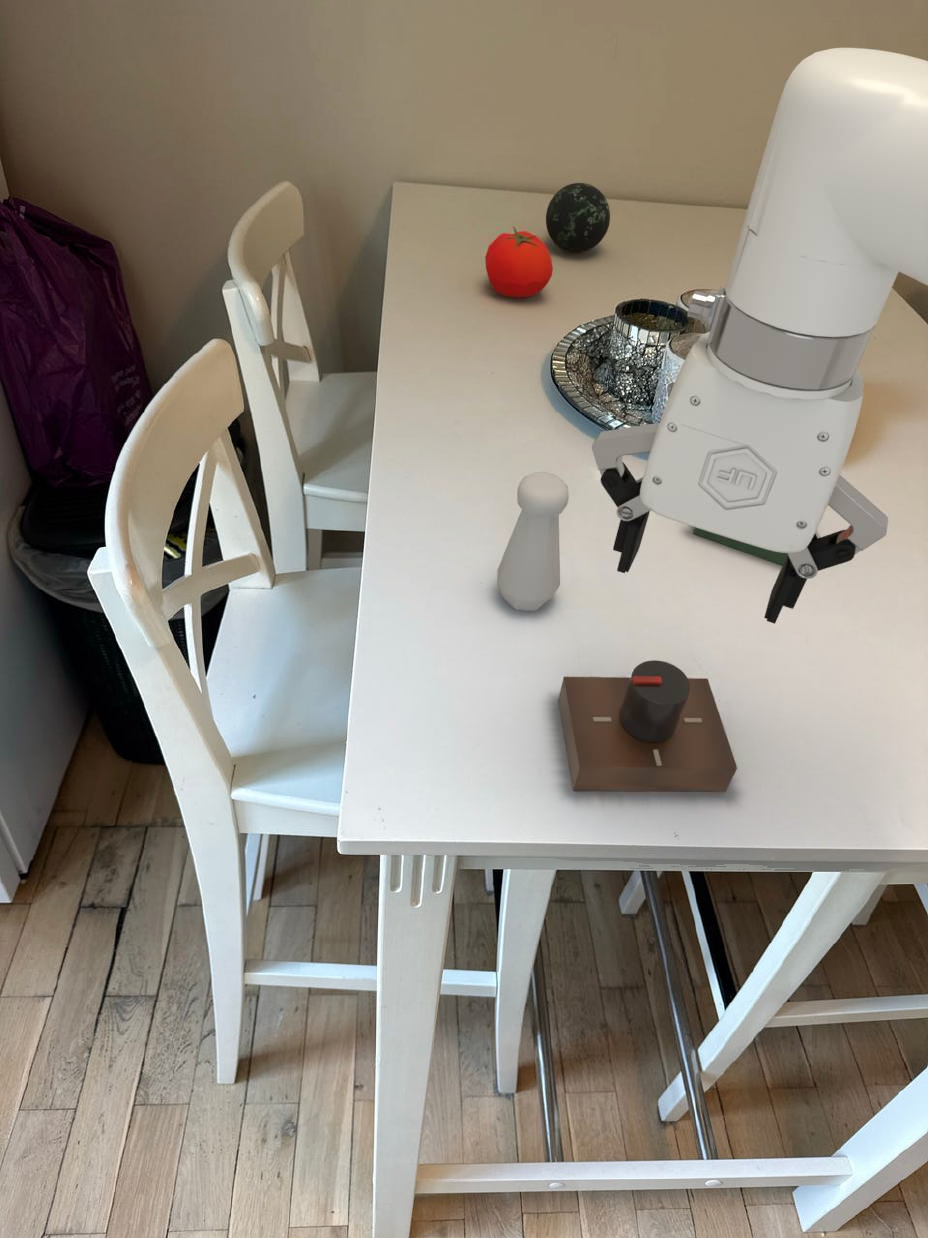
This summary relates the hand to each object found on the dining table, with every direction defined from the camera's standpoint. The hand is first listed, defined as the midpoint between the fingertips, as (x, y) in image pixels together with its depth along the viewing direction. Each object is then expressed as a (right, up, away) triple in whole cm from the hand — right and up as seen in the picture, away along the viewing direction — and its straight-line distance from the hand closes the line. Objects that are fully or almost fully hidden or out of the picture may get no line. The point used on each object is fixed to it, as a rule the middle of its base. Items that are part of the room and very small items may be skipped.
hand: (698, 584), depth 57 cm
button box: (+15, +7, +35) cm, 38 cm away
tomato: (-8, +45, +72) cm, 85 cm away
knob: (-1, -10, +11) cm, 15 cm away
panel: (-1, -12, +13) cm, 18 cm away
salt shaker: (-10, 0, +25) cm, 27 cm away
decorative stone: (+2, +57, +85) cm, 102 cm away
